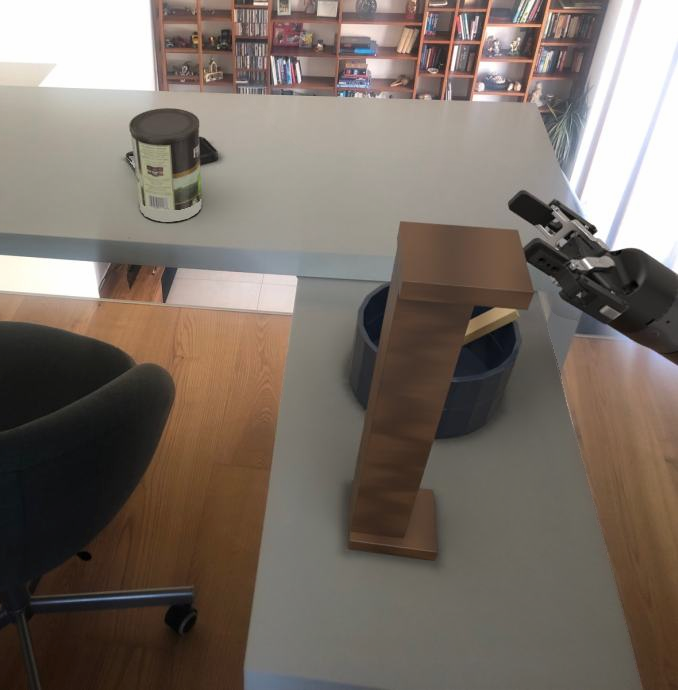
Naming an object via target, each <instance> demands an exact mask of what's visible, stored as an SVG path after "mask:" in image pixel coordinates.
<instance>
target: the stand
mask: <svg viewBox="0 0 678 690" xmlns="http://www.w3.org/2000/svg"><path fill="white" fill-rule="evenodd" d="M390 277H391V278H390V281H389V282H390V288H389V293H388V298H387V304H386V309H385V314H384V320H383V325H382V330H381V335H380V341H379V346H378V351H377V357H376V362H375V367H374V372H373V378H372V383H371V388H370V394H369V399H368V404H367V410H365V416H364V421H363V425H362V431H361V436H360V440H359V441H360V442H359V447H358V452H357V458H356V464H355V468H354V473H353V478H352V480H351V483H350V487H349V488H350V489H349V492H350V493H349V513H348V515H349V518H348V541H347V543H348V544H347V549H349V550H355V551H361V552H369V553H376V554H383V555H391V556H397V557H406V558H413V559H420V560H427V561H436V559H437V556H438V553H439V552H438V550H439V549H438V538H437V536H438V535H437V524H436V508H435V494H434V490H433V489H427V488H421V487H420V486H421V484H422V480H423V477H424V474H425V470H426V467H427V464H428V461H429V458H430V453H431V451H432V447H433V444H434V441H435V438H434V437H435V434H436V431H437V427H438V424H439V421H440V417H441V414H442V411H443V408H444V404H445V401H446V398H447V394H448V391H449V388H450V384H451V381H452V378H453V374H454V371H455V368H456V364H457V361H458V358H459V354H460V351H461V348H462V344H463V341H464V338H465V334H466V331H467V328H468V324H469V321H470V318H471V315H472V311H473V308H474V306H484V307H496V308H507V309H517V310H518V311H519V310H520V311H528V310H529V308H530V306H531V302H532V300H533V297H534V294H535V289H534V285H533V281H532V277H531V274H530V270H529V266H528V262H526V258H525V255H524V251H523V243H522V239H521V236H520V231H519V230H518V229H511V228H500V227H499V228H498V227H485V226H472V225H458V224H457V225H456V224H445V223H444V224H443V223H432V222H431V223H430V222H416V221H405V220H402V221H401V220H400V222H399V225H398V231H397V236H396V252H395V257H394V262H393V268H392V273H391V276H390Z"/></svg>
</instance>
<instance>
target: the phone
mask: <svg viewBox="0 0 678 690" xmlns="http://www.w3.org/2000/svg"><path fill="white" fill-rule="evenodd" d="M199 148H200V165H202V164H207V163H211V162H215V161H217V160H218V159H219V151H218V150H217V149H216V148H215V147H214V146H213V145H212V144H211V143H210V141H208V139H207V138H205V137H204V136H199ZM129 156H134V155H133V150H132V151H131V150H130V151H128V152H127V153H126V154H125V158H126V159H125V160H126V162H127V164H128V166H130V168H131V169H132V170H133V172H134V173H135V174H136V171H135V168H134V167H133V165H132V164H131V163H130V161H131V162H132V160H131V159H130V158H129ZM127 158H128V159H129V160H130V161H129V160H128V159H127Z"/></svg>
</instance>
